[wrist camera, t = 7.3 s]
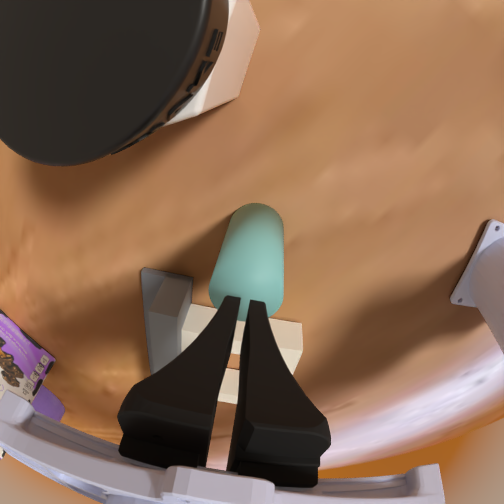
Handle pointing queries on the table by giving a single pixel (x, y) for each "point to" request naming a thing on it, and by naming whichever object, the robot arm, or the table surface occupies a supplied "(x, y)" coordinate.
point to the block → (283, 331)
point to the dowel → (251, 260)
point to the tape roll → (48, 404)
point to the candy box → (21, 362)
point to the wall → (164, 314)
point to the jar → (114, 71)
